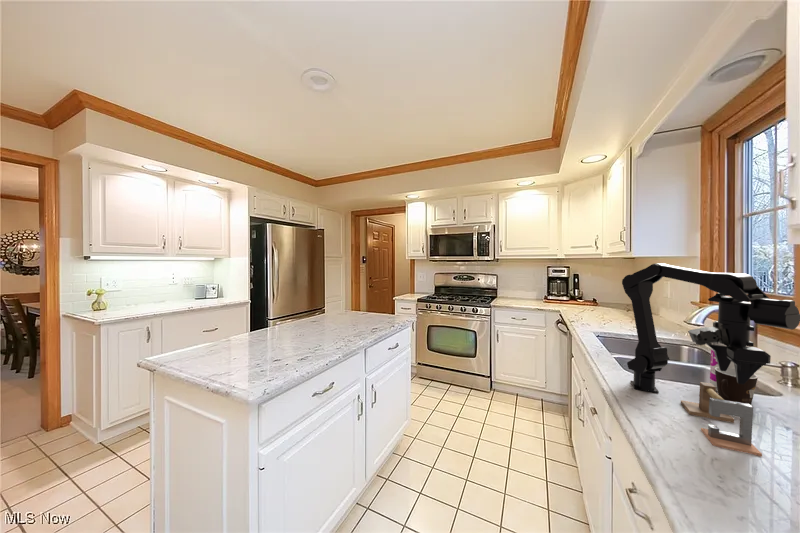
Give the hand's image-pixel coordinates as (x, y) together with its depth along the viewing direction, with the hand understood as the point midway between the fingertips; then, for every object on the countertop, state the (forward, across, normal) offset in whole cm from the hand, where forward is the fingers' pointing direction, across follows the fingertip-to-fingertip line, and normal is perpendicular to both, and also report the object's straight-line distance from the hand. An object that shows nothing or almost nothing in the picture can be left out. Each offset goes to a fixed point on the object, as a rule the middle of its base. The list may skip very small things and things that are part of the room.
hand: (731, 376), depth 79 cm
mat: (+13, +11, -4) cm, 17 cm away
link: (+12, +11, -4) cm, 17 cm away
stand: (+13, 0, -3) cm, 13 cm away
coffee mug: (+13, -14, +5) cm, 20 cm away
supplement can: (+13, -26, +9) cm, 31 cm away
